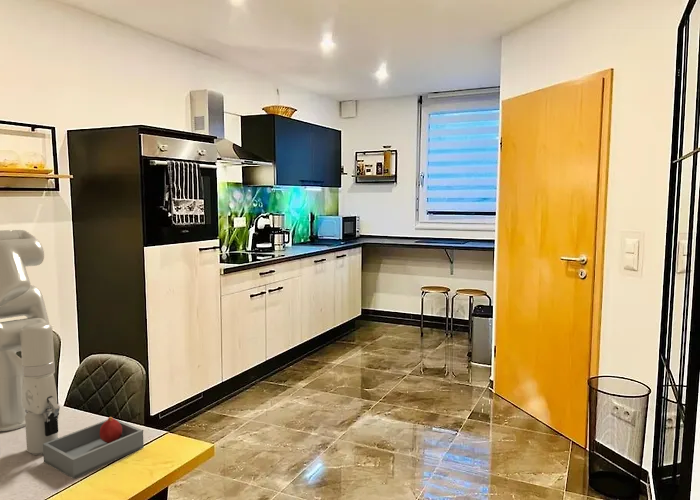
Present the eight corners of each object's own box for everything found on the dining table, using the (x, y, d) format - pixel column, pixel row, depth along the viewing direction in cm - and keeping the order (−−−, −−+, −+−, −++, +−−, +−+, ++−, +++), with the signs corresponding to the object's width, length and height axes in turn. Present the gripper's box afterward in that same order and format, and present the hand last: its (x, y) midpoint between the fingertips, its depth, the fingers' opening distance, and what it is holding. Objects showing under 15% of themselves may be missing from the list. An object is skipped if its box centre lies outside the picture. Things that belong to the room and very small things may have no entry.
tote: (43, 462, 137) (42, 443, 136) (113, 433, 153) (112, 417, 152) (73, 479, 129) (73, 459, 128) (143, 447, 145) (143, 430, 144)
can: (44, 457, 139) (41, 414, 138) (20, 454, 140) (17, 411, 139) (64, 444, 146) (62, 403, 145) (41, 441, 148) (39, 401, 146)
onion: (100, 441, 147) (99, 414, 146) (123, 438, 149) (122, 411, 148) (99, 450, 141) (98, 422, 140) (122, 447, 143) (121, 419, 143)
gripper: (8, 367, 142) (12, 427, 144) (40, 378, 133) (44, 443, 134) (37, 360, 149) (40, 418, 150) (69, 370, 139) (73, 432, 141)
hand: (42, 430), depth 142 cm, fingers open, 9 cm apart
